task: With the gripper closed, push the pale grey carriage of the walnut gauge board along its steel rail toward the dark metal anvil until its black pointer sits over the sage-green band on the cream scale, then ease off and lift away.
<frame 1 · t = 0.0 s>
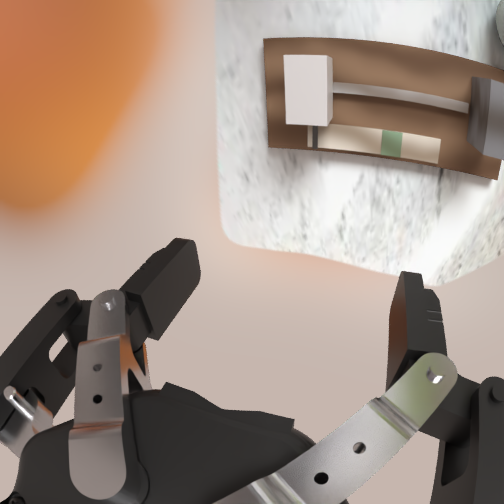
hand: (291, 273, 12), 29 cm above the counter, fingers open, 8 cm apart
carriage: (311, 106, 29), point 5 cm above the counter, slide at 0.0 cm
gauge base: (392, 100, 30), on the counter
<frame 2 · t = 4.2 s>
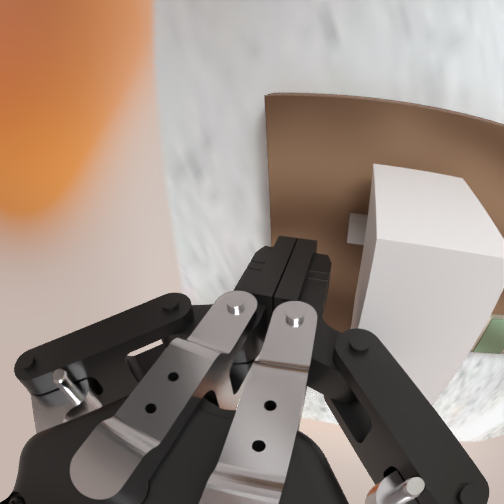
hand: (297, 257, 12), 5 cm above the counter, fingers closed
carriage: (399, 319, 12), point 5 cm above the counter, slide at 0.8 cm, touching gripper
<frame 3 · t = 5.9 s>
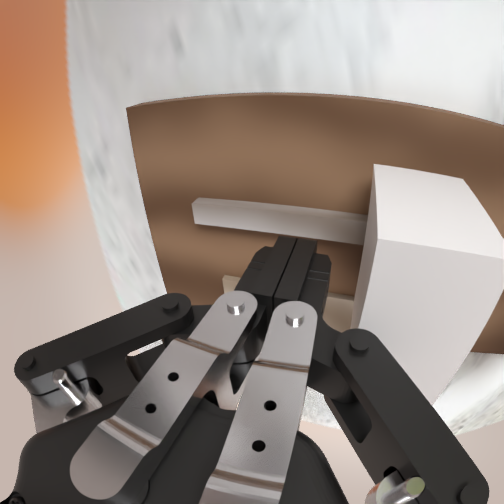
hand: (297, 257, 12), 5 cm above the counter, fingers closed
carriage: (399, 319, 12), point 5 cm above the counter, slide at 8.8 cm, touching gripper
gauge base: (401, 234, 15), on the counter
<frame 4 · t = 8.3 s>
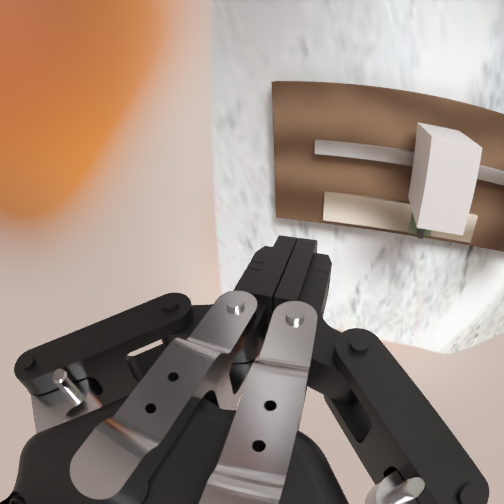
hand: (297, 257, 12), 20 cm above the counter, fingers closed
carriage: (436, 197, 22), point 5 cm above the counter, slide at 9.0 cm
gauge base: (427, 166, 26), on the counter
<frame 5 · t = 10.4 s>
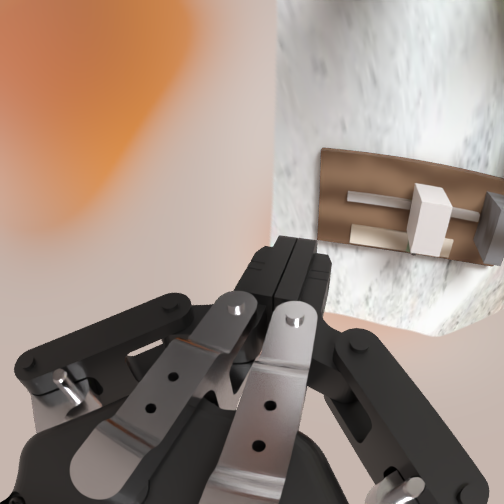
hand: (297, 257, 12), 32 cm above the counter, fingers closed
carriage: (424, 232, 36), point 5 cm above the counter, slide at 9.0 cm
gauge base: (420, 207, 40), on the counter
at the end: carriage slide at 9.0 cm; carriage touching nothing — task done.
